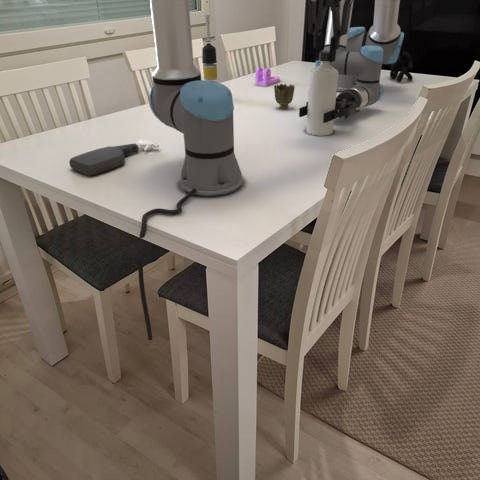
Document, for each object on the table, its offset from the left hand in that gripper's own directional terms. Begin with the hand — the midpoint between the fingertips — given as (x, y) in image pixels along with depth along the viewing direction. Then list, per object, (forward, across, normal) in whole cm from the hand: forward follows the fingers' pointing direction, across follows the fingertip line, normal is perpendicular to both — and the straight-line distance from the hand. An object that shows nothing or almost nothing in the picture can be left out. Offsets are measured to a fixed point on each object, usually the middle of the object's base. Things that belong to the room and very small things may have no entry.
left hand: (325, 60), depth 131 cm
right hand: (+15, -1, -5) cm, 16 cm away
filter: (+21, -54, +13) cm, 60 cm away
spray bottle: (+21, -36, -52) cm, 67 cm away
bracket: (+21, -49, +48) cm, 72 cm away
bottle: (+21, 0, 0) cm, 21 cm away
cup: (+21, -23, +16) cm, 35 cm away
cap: (-2, 0, 0) cm, 2 cm away
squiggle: (+21, -1, +83) cm, 86 cm away
